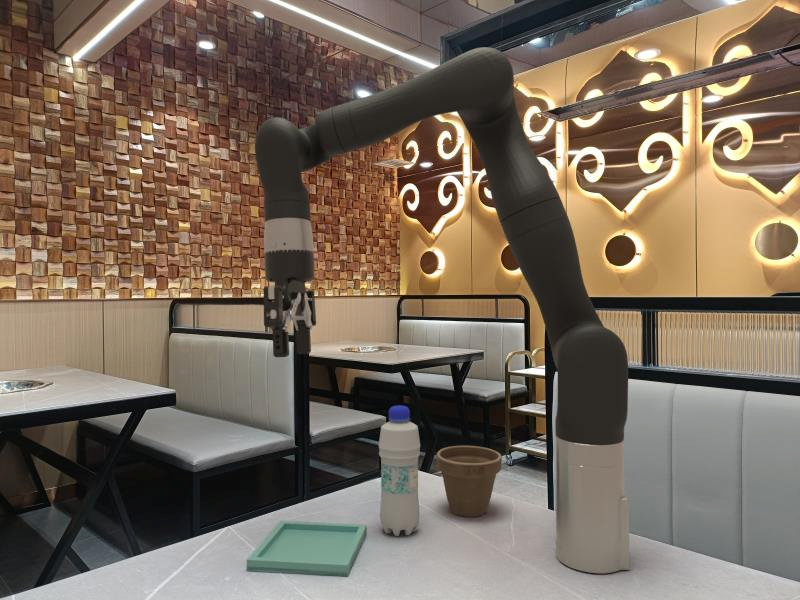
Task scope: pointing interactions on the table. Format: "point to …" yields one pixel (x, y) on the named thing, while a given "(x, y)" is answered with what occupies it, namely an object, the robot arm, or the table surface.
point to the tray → (309, 548)
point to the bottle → (399, 472)
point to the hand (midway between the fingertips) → (293, 355)
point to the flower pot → (468, 477)
